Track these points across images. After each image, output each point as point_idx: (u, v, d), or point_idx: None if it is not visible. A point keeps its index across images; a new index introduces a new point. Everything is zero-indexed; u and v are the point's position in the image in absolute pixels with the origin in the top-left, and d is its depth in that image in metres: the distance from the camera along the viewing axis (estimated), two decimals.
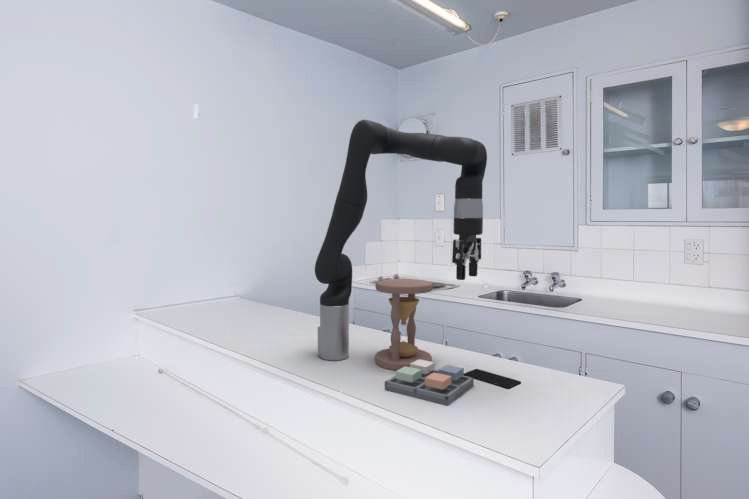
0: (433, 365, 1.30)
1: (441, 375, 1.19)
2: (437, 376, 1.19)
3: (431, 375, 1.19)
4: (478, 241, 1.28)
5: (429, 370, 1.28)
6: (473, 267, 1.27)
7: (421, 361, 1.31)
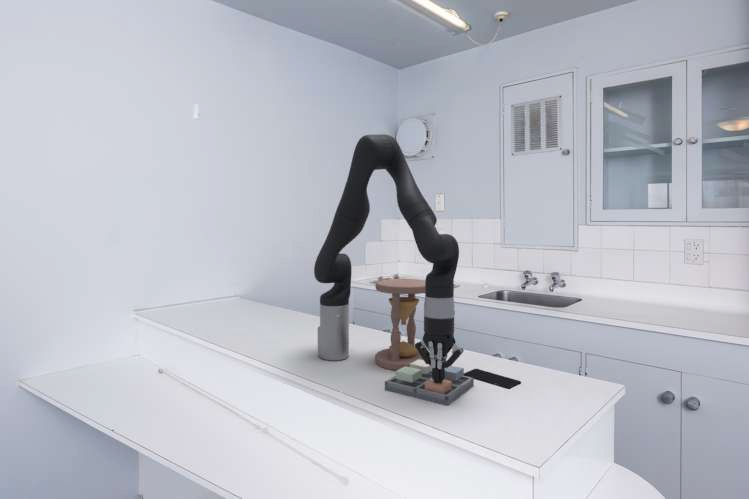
0: None
1: None
2: None
3: (431, 380, 1.19)
4: None
5: (429, 370, 1.28)
6: None
7: (421, 361, 1.31)
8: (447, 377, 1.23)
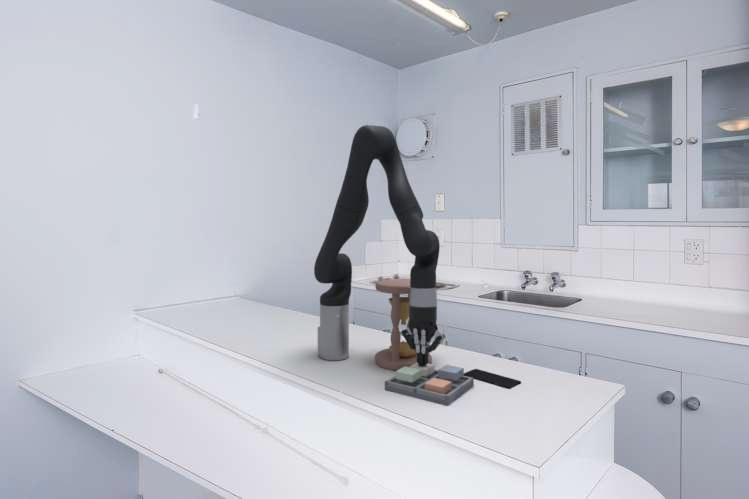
0: (433, 367, 1.30)
1: (441, 380, 1.20)
2: (437, 382, 1.19)
3: (431, 380, 1.19)
4: None
5: (429, 372, 1.28)
6: None
7: None
8: (447, 377, 1.23)
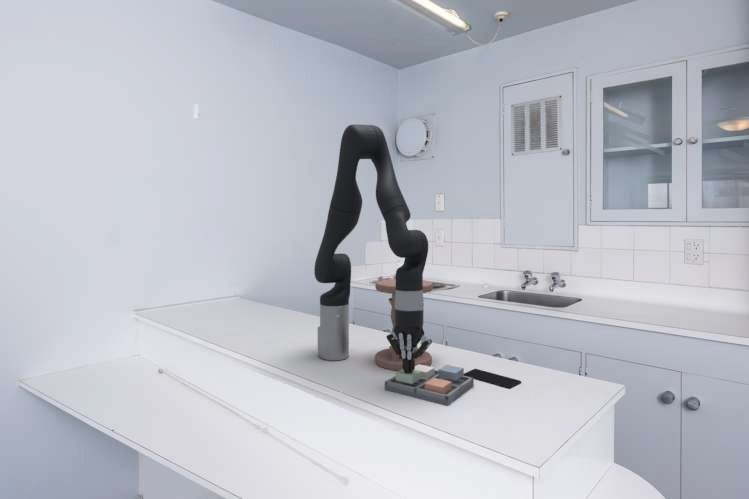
0: (433, 370, 1.30)
1: (441, 380, 1.20)
2: (437, 382, 1.19)
3: (431, 380, 1.19)
4: None
5: (429, 375, 1.28)
6: None
7: (421, 366, 1.31)
8: (447, 377, 1.23)
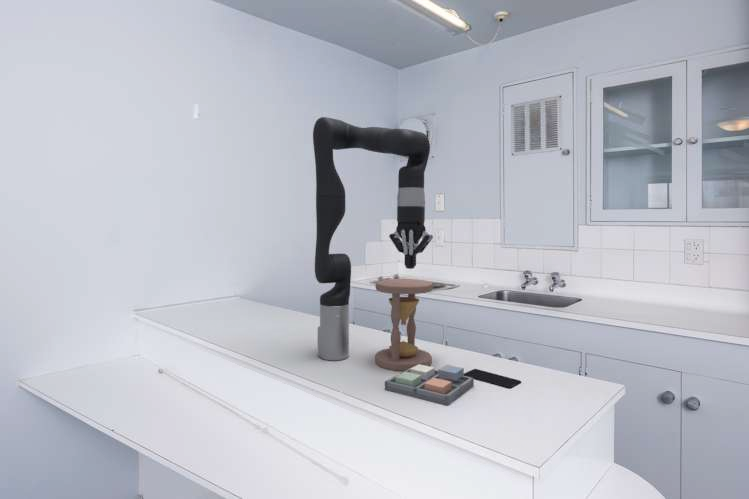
0: (433, 370, 1.30)
1: (441, 380, 1.20)
2: (437, 382, 1.19)
3: (431, 380, 1.19)
4: None
5: (429, 375, 1.28)
6: None
7: (421, 366, 1.31)
8: (447, 377, 1.23)
